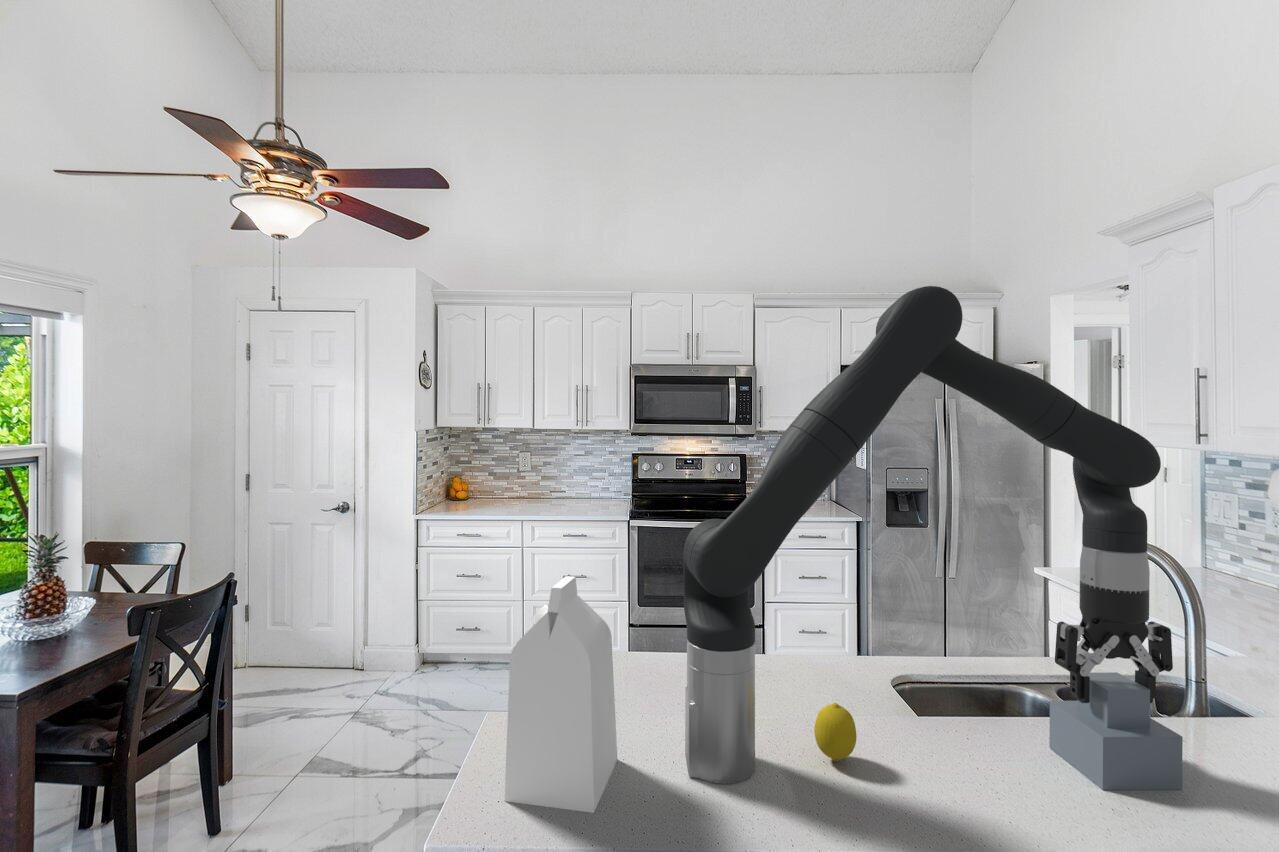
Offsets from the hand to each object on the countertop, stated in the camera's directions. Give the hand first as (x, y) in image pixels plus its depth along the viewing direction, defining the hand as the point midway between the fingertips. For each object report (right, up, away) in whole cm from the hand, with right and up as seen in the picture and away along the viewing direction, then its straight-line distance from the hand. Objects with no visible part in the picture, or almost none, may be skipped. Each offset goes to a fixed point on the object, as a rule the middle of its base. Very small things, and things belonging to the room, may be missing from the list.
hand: (1112, 700), depth 85 cm
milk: (-74, -9, -3) cm, 75 cm away
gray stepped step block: (0, -9, 0) cm, 9 cm away
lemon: (-37, -9, +2) cm, 38 cm away
